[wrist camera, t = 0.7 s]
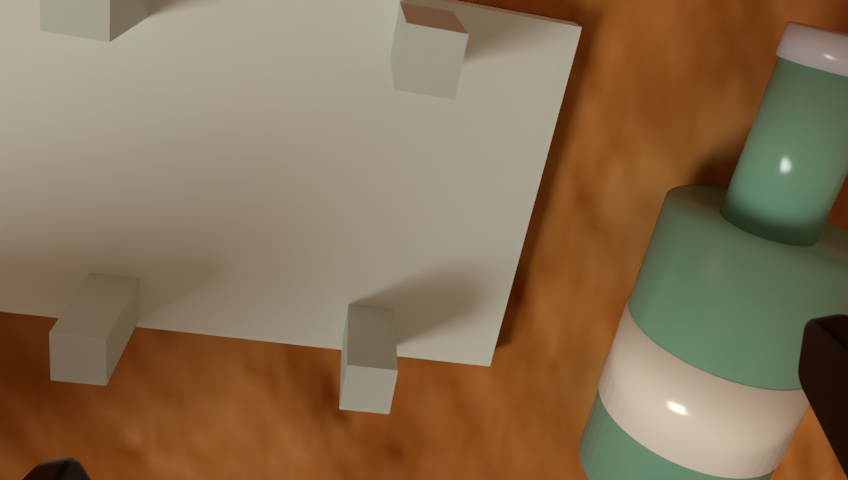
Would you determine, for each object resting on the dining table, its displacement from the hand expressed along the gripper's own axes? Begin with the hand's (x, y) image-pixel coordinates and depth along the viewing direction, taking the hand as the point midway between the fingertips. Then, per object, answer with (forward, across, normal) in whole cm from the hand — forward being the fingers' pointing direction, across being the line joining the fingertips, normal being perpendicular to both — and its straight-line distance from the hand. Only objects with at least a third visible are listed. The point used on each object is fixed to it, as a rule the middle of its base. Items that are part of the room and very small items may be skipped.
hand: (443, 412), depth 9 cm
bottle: (+13, -9, +8) cm, 17 cm away
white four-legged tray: (+13, +4, +2) cm, 14 cm away
